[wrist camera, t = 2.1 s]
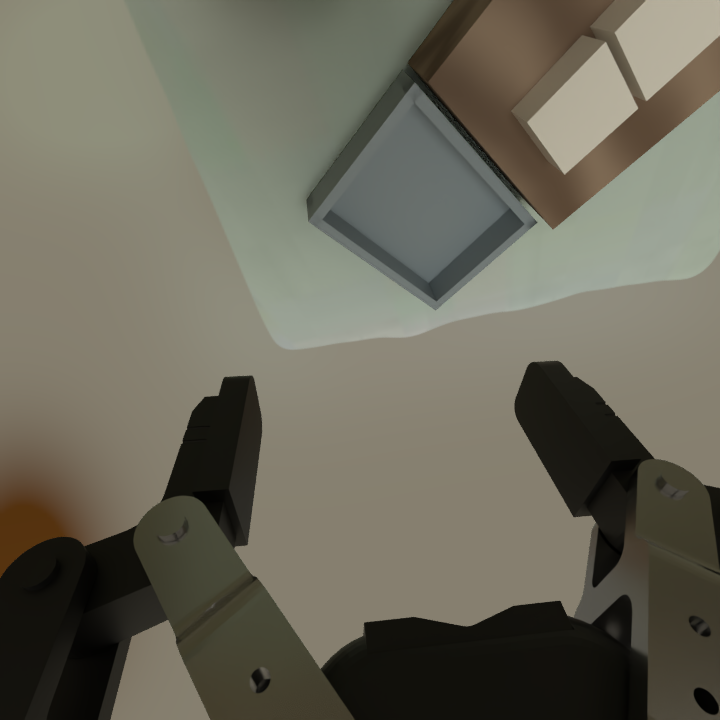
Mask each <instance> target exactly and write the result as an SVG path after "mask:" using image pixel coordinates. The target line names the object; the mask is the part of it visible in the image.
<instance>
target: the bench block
mask: <svg viewBox="0 0 720 720" xmlns="http://www.w3.org/2000/svg"><path fill="white" fill-rule="evenodd" d="M613 1H614V0H454V1H453V2H452V3H451V5H450V6H449V7H448V9H447V10H446V12H445V13H444V14H443V16H442V17H441V18H440V20H439V21H438V22H437V24H436V25H435V26H434V28H433V29H432V31H431V32H430V33H429V35H428V36H427V37H426V39H425V40H424V41H423V43H422V44H421V45H420V47H419V48H418V50H417V51H416V52H415V54H414V55H413V56H412V58H411V59H410V60H409V62H408V64H409V65H410V67H411V68H412V69H413V70H414V71H415V72H416V74H417V75H418V76H419V77H420V78H421V79H422V81H423V82H424V83H425V84H426V85H427V86H428V88H429V89H430V90H431V91H432V92H433V93H434V95H435V96H436V97H437V98H438V99H439V100H440V102H441V103H442V104H443V105H444V106H445V108H446V109H447V110H448V111H449V112H450V113H451V115H452V116H453V117H454V118H455V119H456V120H457V122H458V123H459V124H460V125H461V126H462V127H463V129H464V130H465V131H466V132H467V133H468V134H469V136H470V137H471V138H472V139H473V140H474V141H475V143H476V144H477V145H478V146H479V147H480V148H481V150H482V151H483V152H484V153H485V154H486V155H487V157H488V158H489V159H490V160H491V161H492V162H493V164H494V165H495V166H496V167H497V168H498V169H499V171H500V172H501V173H502V174H503V175H504V176H505V178H506V179H507V180H508V181H509V182H510V183H511V185H512V186H513V187H514V188H515V189H516V190H517V192H518V193H519V194H520V195H521V196H522V197H523V199H524V200H525V201H526V202H527V203H528V204H529V205H530V206H531V207H532V208H533V209H534V210H535V211H536V212H537V213H538V214H539V215H540V216H541V217H542V218H543V219H544V220H545V221H546V223H547V224H548V225H549V226H550V227H551V228H552V229H554V228H555V227H557V226H558V225H559V224H560V223H561V222H563V221H564V220H565V219H566V218H567V217H569V216H570V215H571V214H572V213H573V212H575V211H576V210H577V209H578V208H579V207H581V206H582V205H583V204H584V203H585V202H587V201H588V200H589V199H590V198H591V197H593V196H594V195H595V194H596V193H597V192H599V191H600V190H601V189H602V188H603V187H605V186H606V185H607V184H608V183H609V182H611V181H612V180H613V179H614V178H615V177H617V176H618V175H619V174H620V173H621V172H623V171H624V170H625V169H626V168H627V167H629V166H630V165H631V164H632V163H633V162H635V161H636V160H637V159H638V158H639V157H641V156H642V155H643V154H644V153H645V152H647V151H648V150H649V149H650V148H651V147H653V146H654V145H655V144H656V143H657V142H659V141H660V140H661V139H662V138H663V137H665V136H666V135H667V134H668V133H669V132H671V131H672V130H673V129H674V128H675V127H677V126H678V125H679V124H680V123H681V122H683V121H684V120H685V119H686V118H687V117H689V116H690V115H691V114H692V113H693V112H695V111H696V110H697V109H698V108H699V107H701V106H702V105H703V104H704V103H705V102H707V101H708V100H709V99H710V98H711V97H713V96H714V95H715V94H716V93H717V92H719V91H720V36H719V37H718V38H716V39H715V40H714V41H713V42H712V43H711V44H710V45H709V46H708V47H706V48H705V49H704V50H703V51H702V52H701V53H700V54H699V55H698V56H696V57H695V58H694V59H693V60H692V61H691V62H690V63H689V64H687V65H686V66H685V67H684V68H683V69H682V70H681V71H680V72H679V73H677V74H676V75H675V76H674V77H673V78H672V79H671V80H670V81H669V82H667V83H666V84H665V85H664V86H663V87H662V88H661V89H660V90H658V91H657V92H656V93H655V94H654V95H653V96H652V97H651V98H650V99H648V100H647V101H645V100H642V99H640V98H638V97H635V96H633V95H632V97H633V99H634V101H635V103H636V105H637V107H638V109H637V110H636V111H635V112H634V113H633V114H632V115H631V116H630V117H628V118H627V119H626V120H625V121H624V122H623V123H622V124H621V125H619V126H618V127H617V128H616V129H615V130H614V131H613V132H612V133H611V134H609V135H608V136H607V137H606V138H605V139H604V140H603V141H602V142H601V143H599V144H598V145H597V146H596V147H595V148H594V149H593V150H592V151H590V152H589V153H588V154H587V155H586V156H585V157H584V158H583V159H582V160H580V161H579V162H578V163H577V164H576V165H575V166H574V167H573V168H572V169H570V170H569V171H568V172H567V173H566V174H565V175H564V174H563V173H562V172H561V171H559V170H558V169H557V168H556V167H554V166H553V165H552V164H551V163H549V162H548V161H547V159H546V158H545V157H544V155H543V154H542V153H541V151H540V150H539V149H538V147H537V146H536V144H535V143H534V142H533V140H532V139H531V138H530V136H529V135H528V134H527V132H526V131H525V129H524V128H523V127H522V125H521V124H520V123H519V121H518V120H517V119H516V117H515V116H514V115H513V113H512V112H511V110H512V109H513V108H514V107H515V106H516V105H517V104H518V103H519V102H520V101H521V100H522V99H523V98H524V97H525V95H526V94H527V93H528V92H529V91H530V90H531V89H532V88H533V87H534V86H535V85H536V84H537V83H538V82H539V80H540V79H541V78H542V77H543V76H544V75H545V74H546V73H547V72H548V71H549V70H550V69H551V68H552V67H553V66H554V64H555V63H556V62H557V61H558V60H559V59H560V58H561V57H562V56H563V55H564V54H565V53H566V52H567V51H568V50H569V48H570V47H571V46H572V45H573V44H574V43H575V42H576V41H577V40H578V39H579V38H580V37H581V36H582V35H584V36H587V37H591V38H594V39H596V38H595V36H594V34H593V32H592V30H591V28H590V26H591V25H592V24H593V23H594V22H595V21H596V20H597V19H598V17H599V16H600V15H601V14H602V13H603V12H604V11H605V10H606V9H607V8H608V7H609V6H610V5H611V4H612V3H613Z"/></svg>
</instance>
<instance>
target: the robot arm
mask: <svg viewBox="0 0 720 720" xmlns="http://www.w3.org/2000/svg"><path fill="white" fill-rule="evenodd" d="M515 414H516V417H517V420H518V421H519V423H520V425H521V427H522V428H523V430H524V432H525V433H526V435H527V437H528V439H529V441H530V442H531V444H532V446H533V448H534V449H535V451H536V453H537V454H538V456H539V458H540V460H541V461H542V463H543V465H544V467H545V468H546V470H547V472H548V473H549V475H550V477H551V479H552V480H553V482H554V484H555V486H556V487H557V489H558V491H559V492H560V494H561V496H562V497H563V499H564V501H565V503H566V504H567V506H568V508H569V509H570V512H571V513H572V515H573V517H580V516H592V517H593V518H594V520H595V521H596V523H595V525H594V526H593V529H592V532H591V540H590V547H589V555H588V563H587V570H586V578H585V585H584V591H583V595H582V599H581V601H580V604H579V606H578V607H577V610H576V612H575V615H574V618H573V617H570V616H567V614H566V612H565V610H564V608H563V606H562V603H561V601H553V602H544V603H535V604H526V605H518V606H512V607H510V608H508V609H506V610H504V611H502V612H500V613H498V614H496V615H494V616H492V617H490V618H487V619H485V620H483V621H481V622H479V623H477V624H475V625H473V626H468V627H466V626H459V625H454V624H449V623H443V622H438V621H433V620H427V619H422V618H416V617H411V618H401V619H392V620H383V621H374V622H366V623H364V633H363V636H362V637H360V638H358V639H356V640H354V641H352V642H350V643H349V644H347V645H346V646H344V647H343V648H341V649H340V650H339V651H338V652H337V653H336V654H334V655H333V656H332V657H331V658H330V659H329V660H328V661H327V663H325V665H324V666H323V667H322V668H321V669H320V668H319V666H318V665H317V664H316V662H315V660H314V659H313V657H312V656H311V655H310V653H309V652H308V650H307V649H306V647H305V646H304V644H303V643H302V641H301V640H300V638H299V637H298V636H297V634H296V633H295V631H294V630H293V628H292V627H291V625H290V624H289V622H288V621H287V619H286V618H285V616H284V615H283V613H282V612H281V611H280V609H279V608H278V606H277V605H276V603H275V602H274V600H273V599H272V597H271V596H270V594H269V593H268V591H267V590H266V589H265V587H264V586H263V585H262V583H261V582H260V581H259V580H258V579H257V577H254V576H253V575H252V574H251V573H250V572H249V570H248V569H247V568H246V566H245V565H244V563H243V562H242V560H241V559H240V557H239V556H238V554H237V553H236V551H235V550H234V548H235V546H245V545H247V544H248V537H249V529H250V522H251V514H252V506H253V498H254V490H255V483H256V475H257V468H258V460H259V452H260V444H261V437H262V418H261V411H260V406H259V401H258V396H257V391H256V386H255V382H254V378H253V376H235V377H224V379H223V382H222V385H221V389H220V393H219V396H211V397H204V399H203V400H202V401H201V402H200V403H199V404H198V405H197V406H196V408H195V409H194V410H193V411H192V414H191V417H190V420H189V423H188V426H187V430H186V432H185V435H184V438H183V444H181V446H180V449H179V452H178V456H177V459H176V461H175V464H174V467H173V470H172V474H171V476H170V479H169V482H168V485H167V488H166V491H165V494H164V496H163V499H162V501H161V502H160V503H158V504H157V505H155V506H154V507H153V508H151V509H150V510H149V511H148V512H147V513H146V514H145V515H144V516H143V518H142V519H141V520H140V522H139V524H138V525H137V526H135V527H133V528H131V529H129V530H127V531H124V532H122V533H119V534H117V535H114V536H111V537H108V538H106V539H103V540H101V541H98V542H95V543H92V544H90V545H87V546H83V545H82V543H81V542H79V541H78V540H76V539H74V538H71V537H58V538H53V539H49V540H46V541H44V542H41V543H39V544H37V545H35V546H34V547H32V548H31V549H29V550H27V551H26V552H24V553H23V554H22V555H20V556H19V557H18V558H17V559H16V560H15V561H14V562H13V563H12V564H11V565H10V566H9V567H8V568H7V569H6V571H5V572H4V573H3V575H2V576H1V578H0V720H110V719H111V715H112V711H113V707H114V703H115V699H116V695H117V692H118V688H119V684H120V680H121V676H122V672H123V668H124V664H125V660H126V657H127V653H128V649H129V645H130V641H131V637H132V636H134V635H136V634H138V633H140V632H142V631H144V630H147V629H149V628H151V627H153V626H155V625H158V624H160V623H162V622H164V621H166V620H169V622H170V624H171V627H172V629H173V631H174V633H175V636H176V644H177V647H178V650H179V652H180V655H181V657H182V659H183V662H184V664H185V666H186V668H187V670H188V672H189V674H190V677H191V679H192V681H193V683H194V685H195V688H196V690H197V692H198V694H199V696H200V698H201V701H202V702H203V704H204V707H205V709H206V711H207V713H208V716H209V718H210V720H720V488H716V487H711V486H706V485H703V484H702V483H701V482H700V481H699V480H698V479H697V478H696V477H695V476H694V475H693V474H691V473H690V472H689V471H687V470H685V469H684V468H682V467H680V466H678V465H676V464H674V463H671V462H668V461H664V460H659V459H654V458H653V456H652V455H651V454H650V453H649V452H648V451H647V449H646V448H645V447H644V446H643V445H642V444H641V443H640V442H639V440H638V439H637V438H636V437H635V436H634V434H633V433H632V432H631V431H630V430H629V429H628V428H627V426H626V425H625V424H624V423H623V422H622V421H621V419H620V418H619V417H618V416H615V413H614V411H613V410H612V409H611V408H610V407H609V406H608V405H606V404H605V401H604V400H603V399H602V397H601V396H600V395H599V394H598V393H597V392H596V391H595V389H594V388H592V387H591V386H589V385H588V384H586V383H585V382H583V381H582V380H580V379H579V378H578V377H573V376H572V375H571V373H570V372H569V371H568V370H567V369H566V367H565V366H564V365H563V364H562V363H561V362H559V361H545V362H532V363H530V364H529V365H528V367H527V369H526V372H525V375H524V377H523V381H522V383H521V386H520V388H519V391H518V394H517V396H516V399H515Z"/></svg>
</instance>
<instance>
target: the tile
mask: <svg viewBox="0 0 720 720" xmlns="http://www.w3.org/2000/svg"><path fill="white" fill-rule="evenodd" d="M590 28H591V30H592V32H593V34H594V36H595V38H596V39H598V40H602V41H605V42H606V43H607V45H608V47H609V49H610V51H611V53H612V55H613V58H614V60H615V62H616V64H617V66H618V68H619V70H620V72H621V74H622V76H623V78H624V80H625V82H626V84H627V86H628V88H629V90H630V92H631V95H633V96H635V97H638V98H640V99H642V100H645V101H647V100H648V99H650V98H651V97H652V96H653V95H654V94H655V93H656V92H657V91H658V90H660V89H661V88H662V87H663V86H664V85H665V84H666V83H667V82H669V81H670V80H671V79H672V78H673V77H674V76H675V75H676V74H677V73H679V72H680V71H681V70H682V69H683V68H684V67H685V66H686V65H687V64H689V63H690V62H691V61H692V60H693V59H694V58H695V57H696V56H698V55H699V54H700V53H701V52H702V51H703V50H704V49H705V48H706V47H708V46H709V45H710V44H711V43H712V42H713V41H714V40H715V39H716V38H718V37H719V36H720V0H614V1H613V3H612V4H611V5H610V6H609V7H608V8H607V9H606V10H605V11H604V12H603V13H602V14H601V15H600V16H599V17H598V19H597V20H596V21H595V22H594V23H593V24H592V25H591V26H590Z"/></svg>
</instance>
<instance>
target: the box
mask: <svg viewBox="0 0 720 720" xmlns="http://www.w3.org/2000/svg"><path fill="white" fill-rule="evenodd" d="M307 211H308V222H310V223H311V224H313V225H314V226H315V227H317V228H318V229H320V230H321V231H323V232H324V233H325V234H327V235H328V236H330V237H331V238H333V239H334V240H336V241H337V242H338V243H340V244H341V245H343V246H344V247H346V248H347V249H348V250H350V251H351V252H353V253H354V254H356V255H357V256H359V257H360V258H361V259H363V260H364V261H366V262H367V263H369V264H370V265H371V266H373V267H374V268H376V269H377V270H379V271H380V272H381V273H383V274H384V275H386V276H387V277H389V278H390V279H392V280H393V281H394V282H396V283H397V284H399V285H400V286H402V287H403V288H404V289H406V290H407V291H409V292H410V293H412V294H413V295H414V296H416V297H417V298H419V299H420V300H422V301H423V302H425V303H426V304H427V305H429V306H430V307H432V308H433V309H435V310H437V309H438V308H439V307H440V306H441V305H442V304H443V303H445V302H446V301H447V300H448V299H449V298H450V297H452V296H453V295H454V294H455V293H456V292H457V291H459V290H460V289H461V288H462V287H463V286H464V285H465V284H467V283H468V282H469V281H470V280H471V279H472V278H474V277H475V276H476V275H477V274H478V273H479V272H481V271H482V270H483V269H484V268H485V267H486V266H488V265H489V264H490V263H491V262H492V261H493V260H494V259H496V258H497V257H498V256H499V255H500V254H501V253H503V252H504V251H505V250H506V249H507V248H508V247H510V246H511V245H512V244H513V243H514V242H515V241H516V240H518V239H519V238H520V237H521V236H522V235H523V234H525V233H526V232H527V231H528V230H529V229H530V228H532V227H533V226H534V225H535V224H536V223H537V222H536V220H535V219H534V218H533V217H532V216H531V215H530V214H529V212H528V211H527V210H526V209H525V208H524V207H523V206H522V204H521V203H520V202H519V201H518V200H517V199H516V198H515V196H514V195H513V194H512V193H511V192H510V191H509V190H508V188H507V187H506V186H505V185H504V184H503V183H502V181H501V180H500V179H499V178H498V177H497V176H496V175H495V173H494V172H493V171H492V170H491V169H490V168H489V167H488V165H487V164H486V163H485V162H484V161H483V160H482V159H481V157H480V156H479V155H478V154H477V153H476V152H475V151H474V149H473V148H472V147H471V146H470V145H469V144H468V143H467V141H466V140H465V139H464V138H463V137H462V136H461V135H460V133H459V132H458V131H457V130H456V129H455V128H454V127H453V125H452V124H451V123H450V122H449V121H448V120H447V118H446V117H445V116H444V115H443V114H442V113H441V112H440V110H439V109H438V108H437V107H436V106H435V105H434V104H433V102H432V101H431V100H430V99H429V98H428V97H427V96H426V94H425V93H424V92H423V91H422V90H421V89H420V88H419V86H418V85H417V84H416V83H415V82H414V81H413V80H412V79H411V78H410V77H409V76H408V75H407V74H406V73H405V72H404V71H403V70H402V71H401V73H400V74H399V75H398V77H397V78H396V79H395V81H394V82H393V83H392V85H391V86H390V88H389V89H388V90H387V92H386V93H385V94H384V96H383V97H382V98H381V100H380V101H379V102H378V104H377V105H376V107H375V108H374V109H373V111H372V112H371V113H370V115H369V116H368V117H367V119H366V120H365V121H364V123H363V124H362V126H361V127H360V128H359V130H358V131H357V132H356V134H355V135H354V136H353V138H352V139H351V140H350V142H349V143H348V145H347V146H346V147H345V149H344V150H343V151H342V153H341V154H340V155H339V157H338V158H337V159H336V161H335V162H334V164H333V165H332V166H331V168H330V169H329V170H328V172H327V173H326V174H325V176H324V177H323V178H322V180H321V181H320V182H319V184H318V185H317V187H316V188H315V189H314V191H313V192H312V193H311V195H310V196H309V197H308V199H307Z"/></svg>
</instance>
